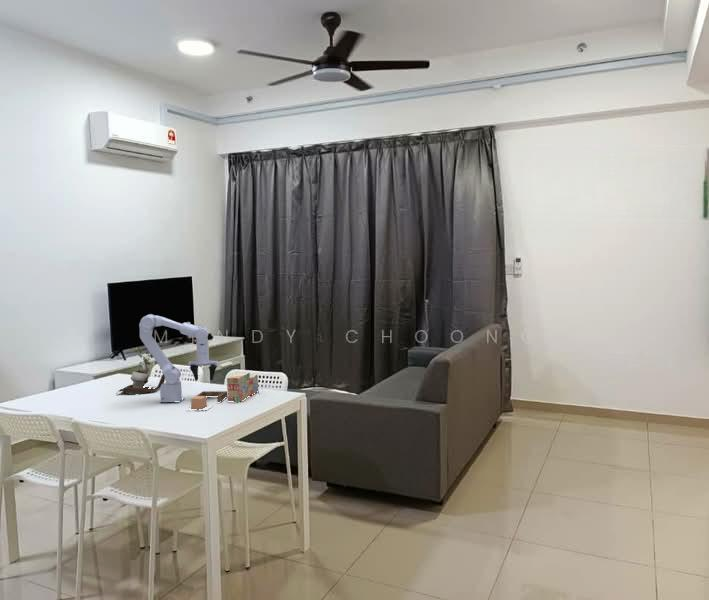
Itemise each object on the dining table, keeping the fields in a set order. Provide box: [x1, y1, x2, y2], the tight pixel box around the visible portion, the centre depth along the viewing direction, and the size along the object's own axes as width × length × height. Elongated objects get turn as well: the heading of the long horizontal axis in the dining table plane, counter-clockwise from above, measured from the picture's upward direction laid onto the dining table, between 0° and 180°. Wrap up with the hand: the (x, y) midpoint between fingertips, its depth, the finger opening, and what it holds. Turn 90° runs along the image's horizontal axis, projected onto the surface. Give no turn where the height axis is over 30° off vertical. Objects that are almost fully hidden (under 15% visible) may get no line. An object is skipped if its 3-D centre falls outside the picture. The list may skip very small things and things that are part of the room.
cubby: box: [196, 390, 228, 402], centre depth 270 cm, size 12×11×3 cm
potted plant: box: [115, 347, 166, 395], centre depth 296 cm, size 20×19×25 cm
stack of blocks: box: [226, 371, 259, 403], centre depth 273 cm, size 21×6×12 cm, turn 165°
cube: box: [190, 395, 208, 410], centre depth 254 cm, size 5×5×5 cm
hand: (204, 380), depth 272 cm, fingers open, 7 cm apart
